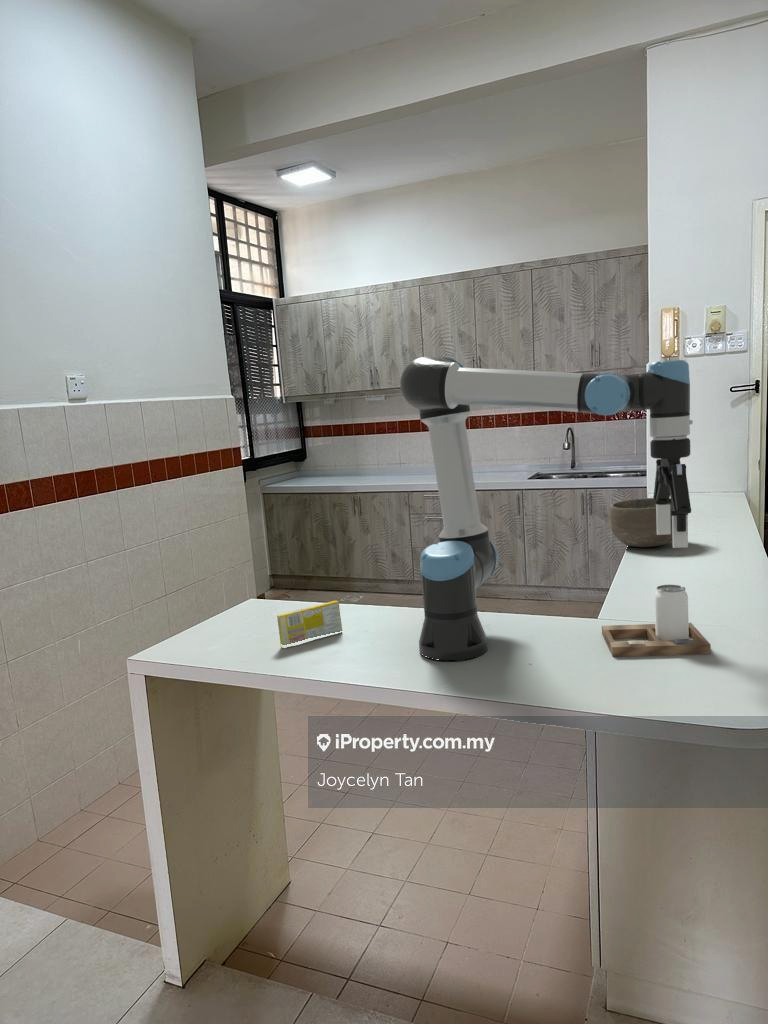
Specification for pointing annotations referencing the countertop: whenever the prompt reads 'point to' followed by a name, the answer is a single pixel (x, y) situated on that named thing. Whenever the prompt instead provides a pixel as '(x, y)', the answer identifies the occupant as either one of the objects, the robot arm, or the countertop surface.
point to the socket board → (652, 641)
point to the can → (671, 613)
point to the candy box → (309, 622)
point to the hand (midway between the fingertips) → (671, 540)
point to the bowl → (637, 523)
